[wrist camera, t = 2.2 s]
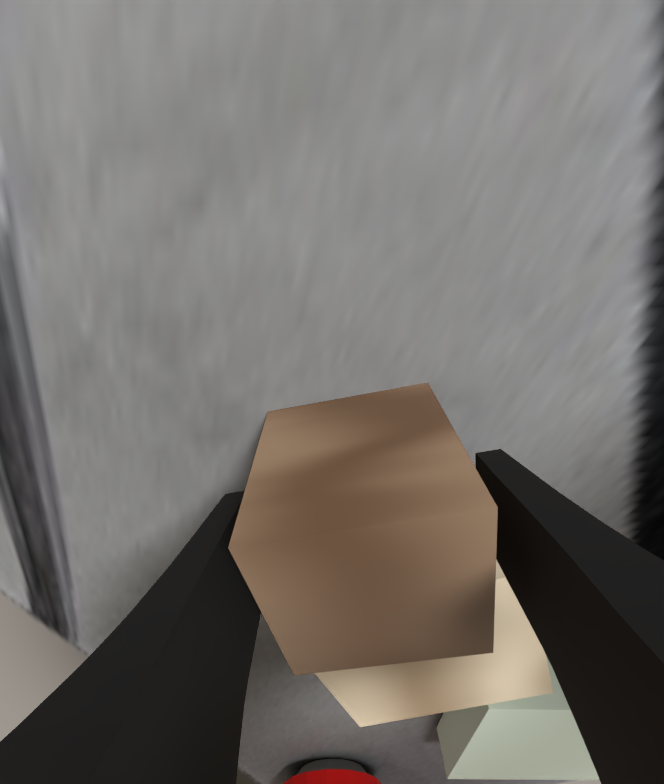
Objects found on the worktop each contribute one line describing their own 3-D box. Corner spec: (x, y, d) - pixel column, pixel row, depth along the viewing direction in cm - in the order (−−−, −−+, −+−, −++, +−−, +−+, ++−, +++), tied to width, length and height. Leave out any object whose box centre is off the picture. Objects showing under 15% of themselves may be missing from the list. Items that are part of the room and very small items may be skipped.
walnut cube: (426, 381, 10) (497, 507, 6) (436, 499, 12) (493, 653, 8) (268, 410, 10) (228, 548, 6) (305, 519, 12) (294, 675, 8)
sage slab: (640, 656, 16) (677, 712, 14) (574, 729, 20) (597, 780, 18) (471, 653, 16) (489, 708, 14) (436, 727, 20) (447, 779, 18)
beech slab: (499, 517, 12) (529, 571, 10) (527, 636, 15) (553, 692, 14) (285, 574, 13) (278, 630, 11) (356, 672, 17) (360, 727, 15)
